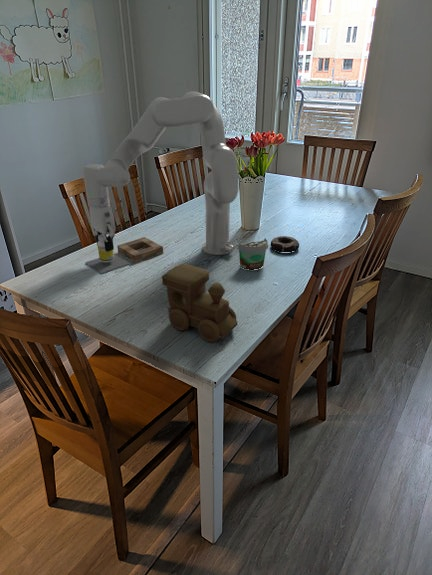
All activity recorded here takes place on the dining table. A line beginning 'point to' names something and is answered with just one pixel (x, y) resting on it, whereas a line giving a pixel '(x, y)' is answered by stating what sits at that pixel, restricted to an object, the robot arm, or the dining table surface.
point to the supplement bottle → (103, 254)
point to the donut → (284, 244)
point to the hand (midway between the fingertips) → (105, 247)
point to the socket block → (148, 252)
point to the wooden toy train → (198, 303)
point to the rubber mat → (107, 264)
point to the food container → (252, 254)
